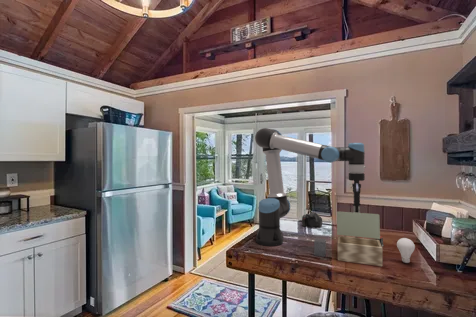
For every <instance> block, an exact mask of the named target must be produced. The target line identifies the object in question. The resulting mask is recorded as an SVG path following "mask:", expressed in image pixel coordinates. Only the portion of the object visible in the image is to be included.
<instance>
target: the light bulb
mask: <svg viewBox="0 0 476 317" xmlns="http://www.w3.org/2000/svg"><path fill="white" fill-rule="evenodd" d="M415 245H416V244H414V242H413V240H411V239H409V238H407V237H402V238H399V239H398V240H397V242H396V247H397V249H398V250H399V253H400V256H401V261H402V262H403V263H404V264H409V263H410V262H411V260H410V259H411V256H412V254H413V253H414V251H415V247H416V246H415Z"/></svg>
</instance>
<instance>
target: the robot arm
mask: <svg viewBox="0 0 476 317" xmlns="http://www.w3.org/2000/svg"><path fill="white" fill-rule="evenodd" d="M254 137H255V138H254V140H255V143H256V145H257V146H259V147H260V148H261V149H262V153H263V154H264V155H265V162H266V170H267V171H266V172H267V179H268V180H267V181H268V182H267V183H268V189H269V193H268V194H267V198H263V199H261V200H260V201H259V202H258V207H257V208H258V229H257V233H256V236H255V242H256V243H257V244H258V245H262V246H265V247H273V246H274V247H276V246H280V245H283V243H284V236H283V234H282V231H281V228H280V226H281V223H280V219H282V218H283V217H285V216H287V215H288V214H289V212H290V210H291V203H290V201H289V200H288V194H287V193H285V191H284V189H285V188H284V182H283V174H282V162H281V155H280V154H281V151H286V152H290V153H293V154H298V155H302V156H306V157H309V158H314V159H317V160H321V161H324V162H326V163H335V162H348V166H347V168H348V172H349V173H348V180H349V181H353V183H352V184H351V185H352V186H351V187H352V192H353V204H352V206H353V213H361V211H360V210H361V209H360V208H361V207H360V206H361V202H360V201H361V188H362V184H361V183H360V182H363V181H365V179H366V178H365V174H366V173H365V169H366V168H367V166H365V154H366V153H365V144H364V143H363V142H350V143H348V146H343V147H342V146H330V145H326V144H322V143H316V142H313V141H308V140H303V139H299V138H296V137H291V136H285V135H283V134H282V133H281V132H280V131H278V130H277V129H272V128H267V127H262V128H261V129H258V130H257V131H256V133H255V135H254Z"/></svg>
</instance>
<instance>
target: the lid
mask: <svg viewBox="0 0 476 317" xmlns="http://www.w3.org/2000/svg"><path fill="white" fill-rule="evenodd" d="M380 222H381V221H380V214H378V213H367V212H366V213H365V212H362V213H361V212H360V213H354V211H353V212H350V211H338V210H337V211H336V235H337V236H345V237H364V238H374V239H380V236H381V227H380V226H381V224H380Z"/></svg>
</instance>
